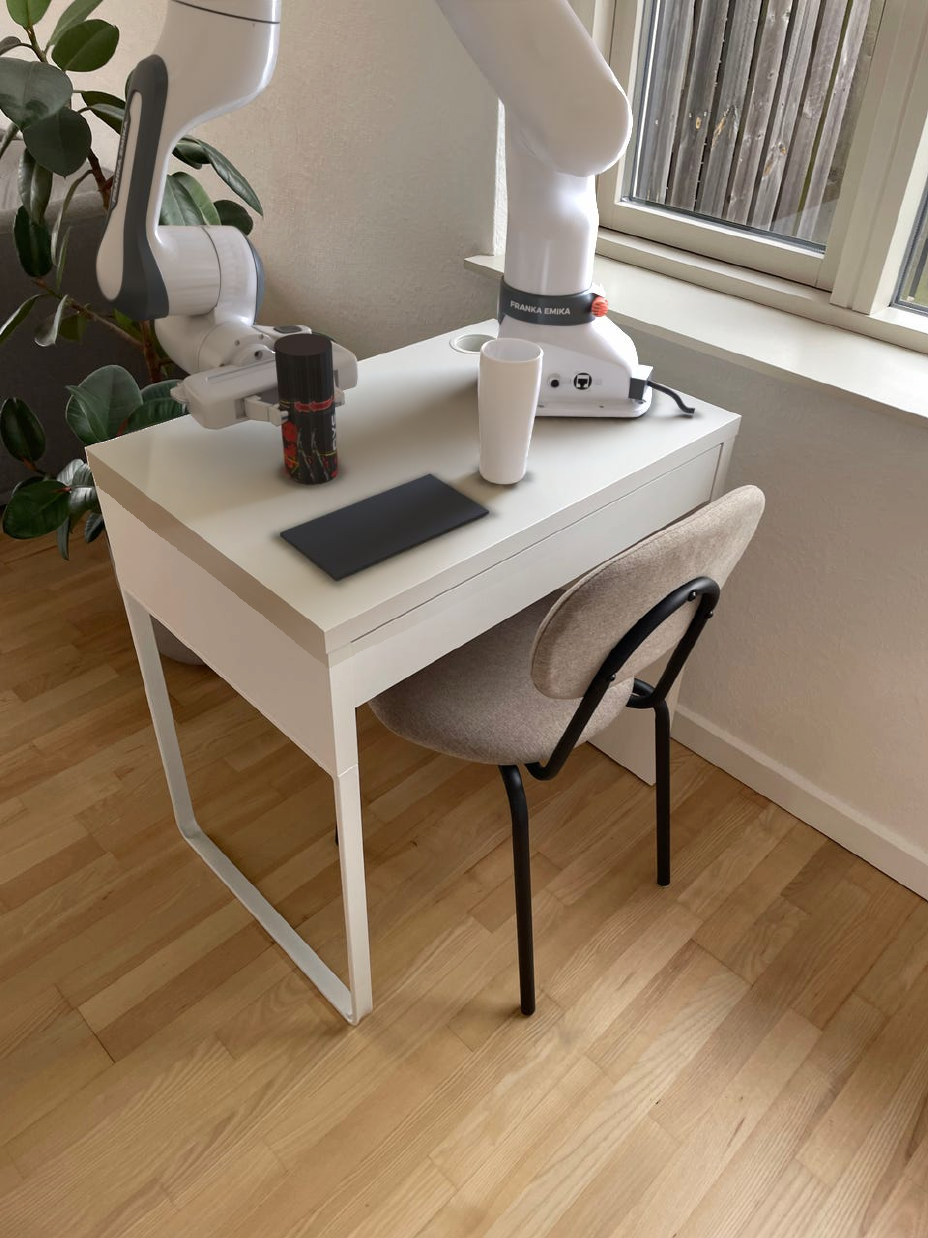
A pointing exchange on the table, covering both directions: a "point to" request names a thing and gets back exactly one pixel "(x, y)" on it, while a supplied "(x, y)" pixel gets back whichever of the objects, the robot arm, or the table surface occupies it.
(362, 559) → the mat
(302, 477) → the deodorant
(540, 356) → the drinking glass
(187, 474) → the table surface
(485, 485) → the table surface
